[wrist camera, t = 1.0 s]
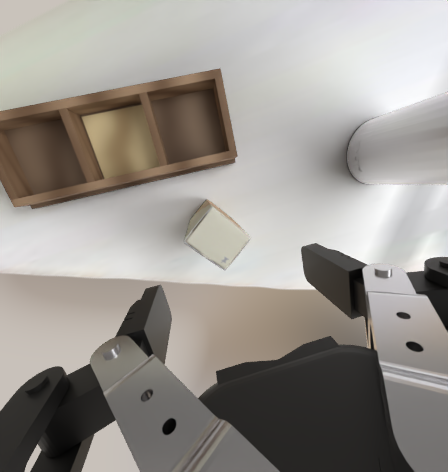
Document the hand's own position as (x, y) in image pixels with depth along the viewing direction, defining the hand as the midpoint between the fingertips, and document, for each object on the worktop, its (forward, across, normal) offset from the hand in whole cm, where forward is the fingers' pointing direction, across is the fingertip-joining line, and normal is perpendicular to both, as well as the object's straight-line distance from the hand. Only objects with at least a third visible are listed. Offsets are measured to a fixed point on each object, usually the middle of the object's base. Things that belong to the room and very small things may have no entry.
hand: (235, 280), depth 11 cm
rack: (+19, +8, -12) cm, 24 cm away
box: (+19, 0, 0) cm, 19 cm away
